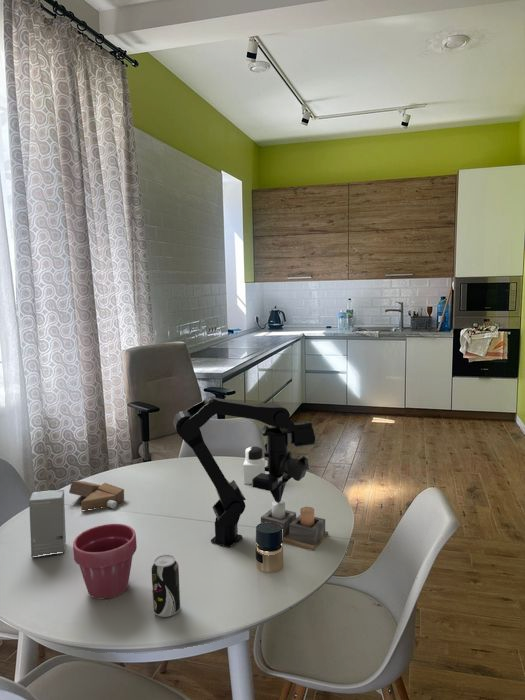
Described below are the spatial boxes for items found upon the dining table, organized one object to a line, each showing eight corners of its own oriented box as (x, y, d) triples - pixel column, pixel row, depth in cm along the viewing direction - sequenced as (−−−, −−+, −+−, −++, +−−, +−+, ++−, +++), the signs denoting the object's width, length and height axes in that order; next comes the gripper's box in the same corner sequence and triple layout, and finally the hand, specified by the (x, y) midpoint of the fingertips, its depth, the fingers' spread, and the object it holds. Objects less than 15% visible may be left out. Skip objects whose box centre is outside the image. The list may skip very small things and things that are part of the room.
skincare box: (31, 559, 136) (26, 501, 134) (35, 546, 143) (30, 491, 141) (65, 554, 138) (61, 497, 136) (68, 541, 145) (64, 487, 143)
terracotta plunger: (310, 531, 141) (310, 514, 140) (298, 528, 143) (297, 511, 142) (316, 525, 144) (316, 508, 143) (304, 522, 146) (304, 505, 145)
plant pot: (75, 578, 127) (72, 528, 125) (134, 566, 132) (132, 518, 130) (77, 613, 114) (73, 558, 112) (142, 598, 119) (139, 545, 117)
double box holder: (313, 550, 138) (313, 533, 137) (257, 535, 146) (257, 519, 145) (328, 534, 146) (328, 517, 145) (274, 521, 155) (274, 505, 154)
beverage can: (148, 611, 114) (145, 560, 112) (170, 599, 118) (168, 550, 116) (163, 623, 110) (160, 570, 108) (185, 610, 114) (183, 559, 112)
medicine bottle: (265, 476, 189) (264, 445, 187) (263, 484, 182) (262, 451, 180) (245, 476, 190) (245, 444, 188) (243, 484, 183) (242, 451, 181)
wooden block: (102, 525, 161) (58, 508, 168) (129, 503, 173) (87, 488, 179) (101, 504, 159) (56, 488, 165) (129, 483, 170) (86, 468, 177)
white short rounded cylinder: (281, 524, 145) (281, 507, 145) (269, 521, 147) (269, 504, 146) (287, 518, 149) (287, 501, 148) (276, 515, 150) (275, 499, 150)
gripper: (287, 464, 133) (288, 522, 135) (317, 443, 149) (317, 495, 151) (250, 457, 138) (251, 512, 141) (283, 438, 154) (283, 488, 157)
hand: (278, 502), depth 147 cm, fingers closed
